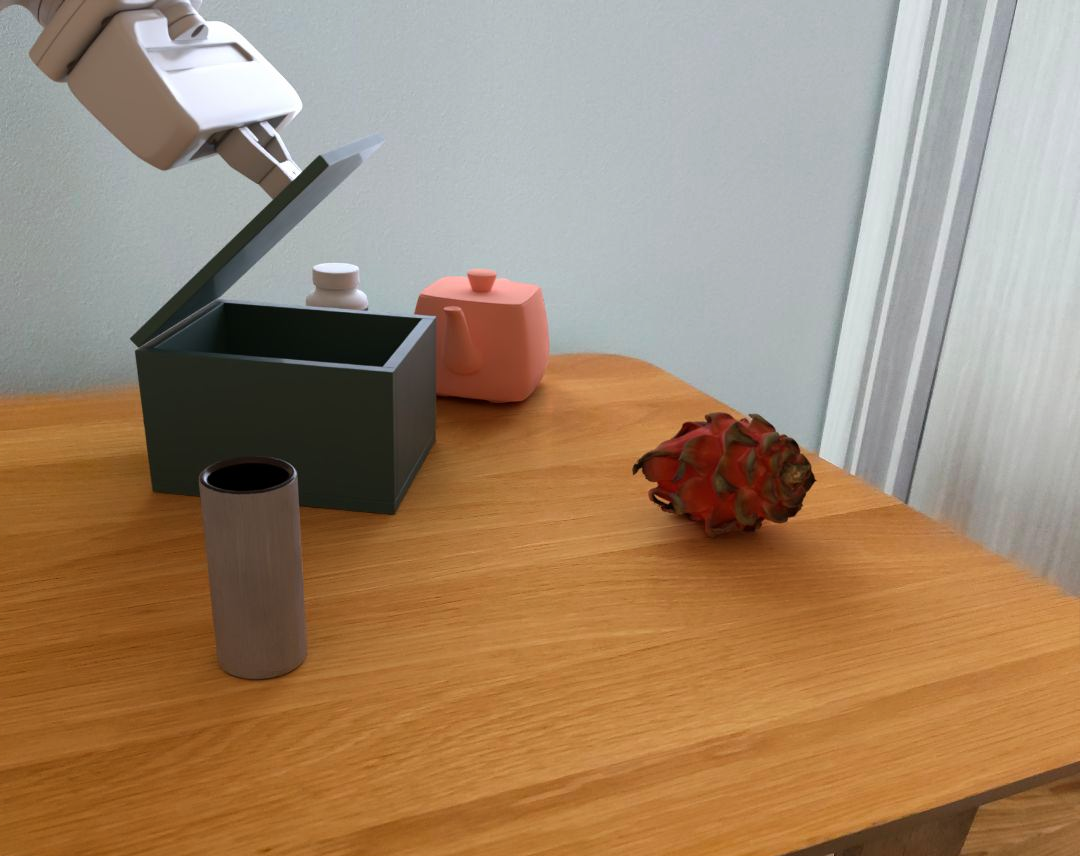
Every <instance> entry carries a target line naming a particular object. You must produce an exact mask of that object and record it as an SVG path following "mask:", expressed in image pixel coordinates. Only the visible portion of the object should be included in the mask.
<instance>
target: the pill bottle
mask: <svg viewBox="0 0 1080 856" xmlns="http://www.w3.org/2000/svg"><path fill="white" fill-rule="evenodd" d="M360 277H361V276H360V267H359V266H357V265H355V264H352V263H346V262H325V263H318V264H315V265H314V266H312V285H313V286H315V289H313V290H311V291H309V292H308V293H307V295H306V298H305V306H313V307H326V308H338V309H351V310H364V311H369V300H368V296H367V294H365V292H363V291H362V290H360V289H358V286H359V285H360V282H361V278H360Z"/></svg>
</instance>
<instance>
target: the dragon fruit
mask: <svg viewBox="0 0 1080 856" xmlns="http://www.w3.org/2000/svg"><path fill="white" fill-rule="evenodd" d="M748 417H749V418H751V421H749V420H748V418H746V417H743V418H741V419H739V420H738V419H736V418H735V417H734V416H733V415H731V414H730V413H728V412H722V411H721V412H720V411H719V412H709V413H707V414H705V415H704V420H705V421H704V420H701V421H699V420H696V421H685V422H684V423H682V425H681V428H680V429H679V430H678V431H677V433H676V434H675V435H674V436H672V437H670V438H669V439H667V440H664V441H662V442H660V443H659V444H658V445H657V446H656V447H655V448H654V449H651V450H649V451H647V452H646V453H644V454H643V455H642V456H641V457H640V458H639V459H637V461H636V463H633V466H632V476H634V475H636V474H637V473H638V472H639V470H640V469H641V472H642V475H644V476H645V477H644V479H645V480H647V482H650V483H657V487H653V488H649V490H648V492H647V493H648V494H647V495H648V499H649V501H650V502H652V503H653V505H657V507H658V508H660V510H661V511H662V512H665V513H668V514H674V516H677V515H679V514H683V515H684V516H685V517H686V518H687V519H689V520H692V521H697V522H699V521H705V523H704V532H705V534H706V535H707V536H709V537H711V538H712V537H715V536H718V535H721V534H725V533H729V532H730V531H731V530H732V528H733V527H736V528H737V529H738V531H739V532H740V533H741V534H751V533H752V534H753V533H755V532H756V531H759V530H760V529H761V527H762V525H763V521H765V520H766V521H769V522H772V523H773V524H785V523H788V520H789V519H790V518H795V517H796V516H797V514H798V513H799V512H800V511H801V510H802V508H803V507H804V504H803V502H804V499H805V498H806V496H807V493H808V492H809V491H810V490H811V489H812V487H813V486H814V484H815V483H816V482H817V481H818V480H817V479H816V477H815V474H814V472H813V470H812V464H811V462H810V460H809V459H808V458H807V457H806V455H805V454H804V453H801V448H800V445H799V444H798V442H797V441H796V440H795V439H794V438H793V437H790V436H788V435H786V434H785V433H783V434H780V433H779V431H777V430H776V427H775V426H774V425H773V424H772V423H771V422H769V421H768V420H767V419H765V418H764V417H763V416H762V415H760V414H758V413H748ZM634 477H635V476H634ZM635 478H636V477H635ZM657 497H658V498H660V499H663V500H665V501H667V502H669V503H666V502H664V501H662V500H660V499H658V498H657Z"/></svg>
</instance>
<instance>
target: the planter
mask: <svg viewBox="0 0 1080 856" xmlns="http://www.w3.org/2000/svg"><path fill="white" fill-rule="evenodd" d="M199 489H200V496H199V498H200V508H201V518H202V526H203V536H204V547H205V554H206V555H205V556H206V566H207V574H208V585H209V596H210V603H211V613H212V623H213V633H214V642H215V651H216V657H217V658H216V659H217V662H218V665H219V666H220V668H221V669H222V670H223V671H225V672H226V673H227V674H229V675H231V676H234V677H237V678H241V679H247V680H264V679H272V678H275V677H279V676H283V675H286V674H288V673H290V672H292V671H294V670H295V669H297V668H298V667H299V666H300V665H302V663H303V662H304V661H305V660H306V657H307V654H308V642H307V641H308V638H307V636H308V635H307V621H306V605H305V604H306V603H305V586H304V585H305V584H304V583H305V582H304V569H303V568H304V567H303V552H302V534H301V533H302V532H301V516H300V506H299V496H298V479H297V472H296V470H295V468H294V467H293V466H292V465H291V464H289V463H287V462H285V461H283V460H280V459H276V458H271V457H263V456H244V457H235V458H230V459H225V460H222V461H219V462H216V463H213V464H211V465H209V466H208V467H206V468H205V469H204V470H203V471H202V472H201V473H200V475H199Z"/></svg>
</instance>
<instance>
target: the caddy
mask: <svg viewBox="0 0 1080 856" xmlns="http://www.w3.org/2000/svg"><path fill="white" fill-rule="evenodd" d="M134 356H135V364H136V370H137V372H136V373H137V380H138V387H139V396H140V403H141V411H142V412H141V413H142V418H143V427H144V435H145V444H146V451H147V459H148V466H149V468H148V469H149V476H150V481H151V491H152V492H153V493H159V494H160V493H161V494H172V495H173V494H174V495H183V496H194V497H200V489H199V475H200V473H201V472H202V471H203V470H204V469H205V468H206V467H208V466H209V465H211V464H213V463H216V462H219V461H222V460H225V459H230V458H235V457H244V456H263V457H271V458H276V459H280V460H283V461H285V462H287V463H289V464H291V465H292V466H293V467H294V468H295V470H296V472H297V479H298V496H299V507H300V506H301V507H307V508H308V507H309V508H321V509H330V510H342V511H350V512H351V511H352V512H362V513H363V512H364V513H373V514H383V515H396V513H397V511H398V509H399V508H400V506H401V504H402V502H403V501H404V499H405V496H406V495H407V494H408V492H409V490H410V488H411V486H412V484H413V483H414V480H415V479H416V477H417V475H418V473H419V471H420V469H421V468H422V466H423V464H424V463H425V461H426V460H427V457H428V455H429V453H430V452H431V450H432V448H433V446H434V445H435V443H436V440H437V395H436V316H427V315H414V313H412V314H411V313H401V312H387V311H376V310H375V311H374V310H368V311H364V310H351V309H338V308H326V307H313V306H306V305H299V304H286V303H275V302H262V301H261V302H260V301H249V300H235V299H222V298H218V299H216V300H214V301H213V302H211V303H210V304H208V305H206V306H205V307H203V308H202V309H200V310H198V311H197V312H195V313H194V314H192V315H191V316H189V317H187V318H186V319H184V320H183V321H181V322H179V323H178V324H176V325H175V326H173V327H171V328H170V329H168V330H167V331H165V332H163V333H162V334H160V335H159V336H157V337H155V338H154V339H152V340H151V341H149V342H147V343H146V344H144V345H143V346H141V347H139V348H138V347H137V349H135V350H134Z"/></svg>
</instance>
